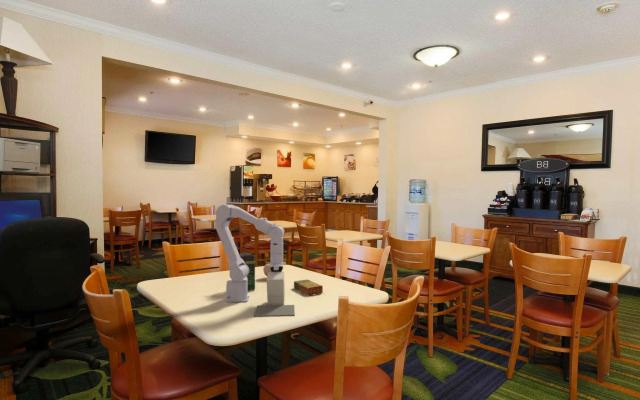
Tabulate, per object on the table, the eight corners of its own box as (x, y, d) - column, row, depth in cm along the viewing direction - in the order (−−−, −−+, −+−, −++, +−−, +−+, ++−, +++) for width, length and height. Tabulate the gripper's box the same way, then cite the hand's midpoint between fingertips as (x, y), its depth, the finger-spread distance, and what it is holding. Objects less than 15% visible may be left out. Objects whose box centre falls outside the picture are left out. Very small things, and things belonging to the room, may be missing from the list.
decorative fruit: (260, 279, 205) (260, 261, 205) (267, 276, 213) (267, 259, 213) (274, 281, 202) (274, 263, 202) (281, 277, 209) (281, 260, 209)
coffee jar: (257, 290, 181) (257, 253, 181) (241, 292, 177) (241, 254, 177) (251, 286, 190) (251, 251, 189) (236, 288, 186) (236, 252, 186)
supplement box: (285, 296, 164) (284, 271, 161) (284, 305, 157) (283, 279, 154) (268, 296, 164) (268, 271, 160) (267, 305, 157) (266, 279, 153)
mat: (254, 316, 143) (254, 315, 143) (257, 306, 156) (257, 305, 156) (294, 315, 144) (294, 314, 144) (294, 305, 157) (294, 304, 157)
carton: (307, 296, 173) (307, 287, 173) (293, 288, 187) (293, 280, 187) (322, 294, 177) (322, 285, 177) (307, 286, 191) (307, 278, 191)
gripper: (285, 255, 156) (285, 286, 156) (285, 250, 170) (285, 279, 171) (269, 255, 155) (268, 287, 156) (270, 250, 170) (270, 279, 170)
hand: (276, 282), depth 163 cm, fingers closed
